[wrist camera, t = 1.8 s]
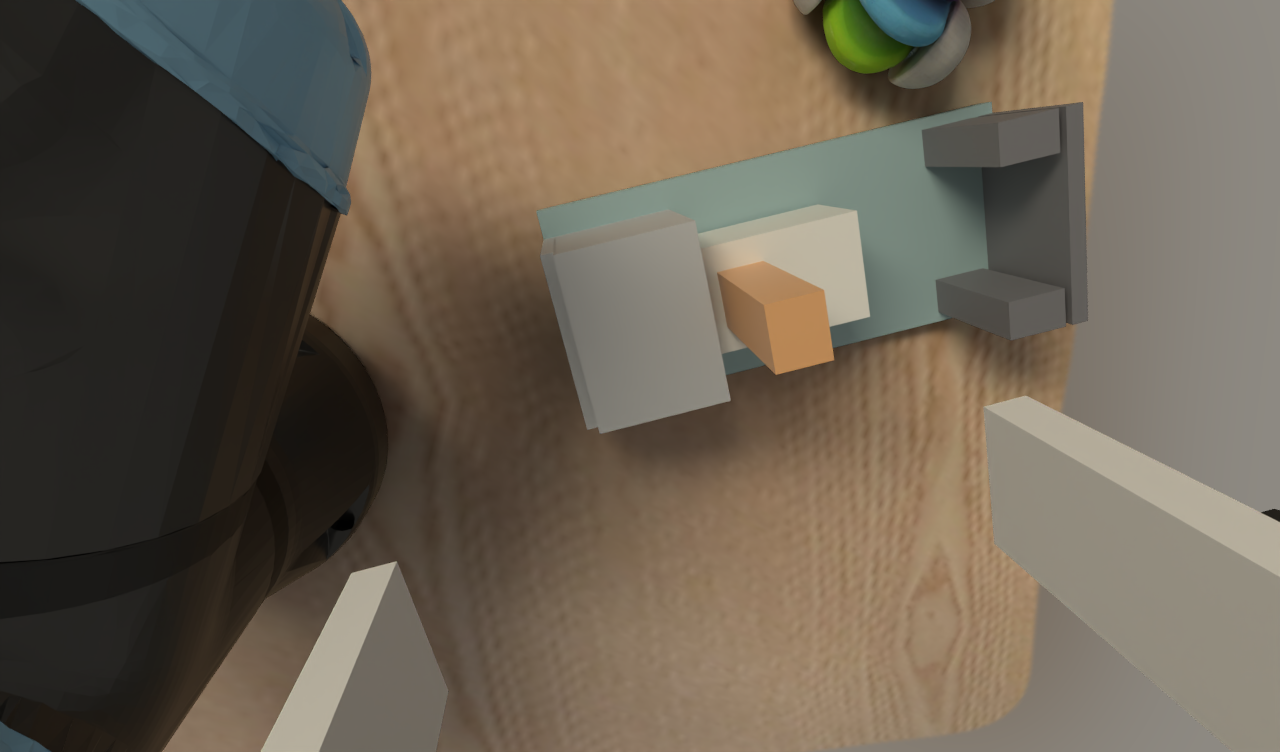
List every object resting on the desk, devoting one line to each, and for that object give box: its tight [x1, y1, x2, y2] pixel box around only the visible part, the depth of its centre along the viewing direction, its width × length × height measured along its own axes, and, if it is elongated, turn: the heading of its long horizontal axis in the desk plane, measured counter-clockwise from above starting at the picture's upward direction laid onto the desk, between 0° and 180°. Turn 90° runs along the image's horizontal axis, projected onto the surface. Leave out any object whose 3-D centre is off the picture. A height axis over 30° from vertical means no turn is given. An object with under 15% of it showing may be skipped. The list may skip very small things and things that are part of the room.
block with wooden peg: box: [698, 204, 870, 375], centre depth 28 cm, size 12×5×12 cm, turn 103°
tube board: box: [536, 102, 1088, 434], centre depth 31 cm, size 22×10×8 cm, turn 103°
